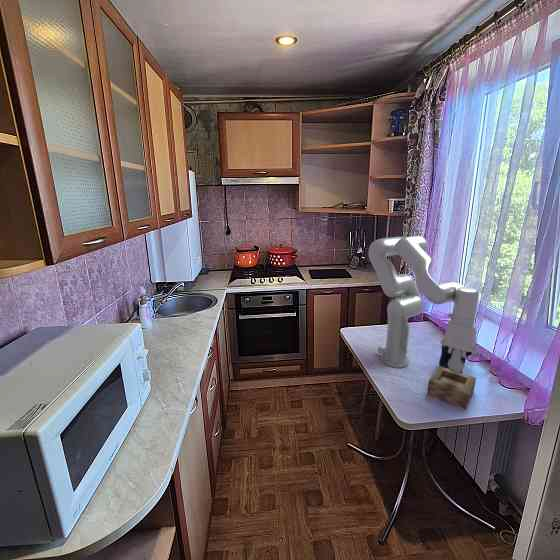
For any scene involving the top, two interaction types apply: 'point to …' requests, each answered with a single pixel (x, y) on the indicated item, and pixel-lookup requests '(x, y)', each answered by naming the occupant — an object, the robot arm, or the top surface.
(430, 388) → the walnut open box
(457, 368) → the salt shaker
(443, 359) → the storage jar
